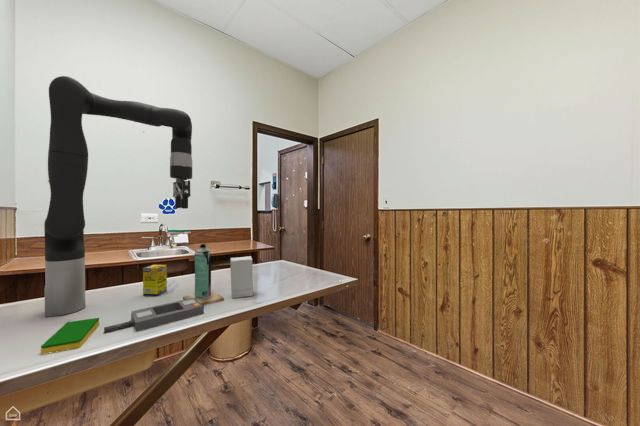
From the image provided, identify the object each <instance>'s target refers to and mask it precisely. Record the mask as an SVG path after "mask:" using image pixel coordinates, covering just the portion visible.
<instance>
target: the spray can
mask: <svg viewBox="0 0 640 426" xmlns="http://www.w3.org/2000/svg"><path fill="white" fill-rule="evenodd" d="M211 291H212V251H211V249H210V248H208V246H207V245H206V243H200V246H199V247H198V248H197V249H196V250H195V252H194V294H195V299H197V300H204V299H208V298H210V297H211Z"/></svg>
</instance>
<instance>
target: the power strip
mask: <svg viewBox="0 0 640 426" xmlns="http://www.w3.org/2000/svg"><path fill="white" fill-rule="evenodd" d="M204 306H205V305H202V304H201V303H200V302H198V301H197V300H196V299H195V298H190V299H185V300H183V299H182V300H178V301H173V302H168V303H163V304H159V305H158V304H157V305H154V306H150V307H145V308H141V309H140V308H139V309H137V310H131V312H130V316H131V317H130V318H131V319H130V320H129V321H126V322H121V323H117V324H113V325H108V326H105V327H103V333H108V332H112V331H117V330H120V329H124V328H129V327H132V326H133V328H134V330H135V332H139V331H143V329H144V330H148V329H150V328H155V327H158V326H162V325H165V324H169V322H170V323H173V321H174V322H178V321H181V320H184V319H185V320H186V319H189V318H192V316H193V317H196V316H200V315H203V313H204V310H205V309H204ZM188 317H189V318H188ZM177 320H178V321H177ZM147 328H148V329H147Z"/></svg>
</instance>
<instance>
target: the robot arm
mask: <svg viewBox="0 0 640 426" xmlns="http://www.w3.org/2000/svg"><path fill="white" fill-rule="evenodd" d="M48 98H49V99H48V100H49V111H50V126H49V127H50V128H49V140H48V141H49V142H48V143H49V144H48V153H47V154H48V155H47V172H48V173H47V175H48V182H49V189H50V199H49V204H48V211H47V215H46V218H45V220H44V222H43V223H44V226H43V227H44V265H45V266H44V267H45V269H44V270H45V271H44V275H45V276H44V277H45V282H44V283H45V284H44V318H45V317H50V316H51V317H53V316H54V317H56V316H57V317H58V316H64V315H69V314H72V313H75V312H79V311H81V310H83V309H85V307H86V254H85V253H86V250H85V242H84V241H85V238H84V237H85V236H84V235H85V231H84V229H85V227H86V219H85V212H84V211H85V210H84V191H85V187H86V183H87V175H88V167H89V149H88V144H87V141H86V136H85V134H84V130H83V115H90V116H100V117H109V118H116V119H119V120H120V119H121V120H125V121H130V122H134V123H140V124H142V125H143V124H144V125H148V126H151V127H158V128H159V127H168V128H171V131H172V132H171V134H172V135H171V139H170V140H171V141H170V156H169V177H170V178H171V179H175V181H173V182H172V184H173V185H172V187H173V188H172V189H173V190H172V194H173V195H172V197H174V198H173V199H174V207H175V209H185V210H186V209H188V208H189V198H190V197H191V180H192V179H193V156H192V155H193V152H192V150H193V149H192V136H193V135H192V134H193V124H192V118H191V116H189V114H188V113H187V112H185V111H184V110H179V109H176V108H168V107H158V106H156V105H151V104H148V103H143V102H140V101H139V102H138V101H131V100H119V99H118V100H116V99H111V98H106V97H103V96H100V95H98V94H95V93H92V92H90V91H89V90H88V88H87V87H85V86H84V85H83V84H82V83H81V82H80V81H78V80H77V79H75V78H73V77H70V76H67V75H65V76H64V75H62V76H57V77H55V78H54V79H53V80H51V82H50V83H49V86H48Z"/></svg>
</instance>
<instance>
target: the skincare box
mask: <svg viewBox="0 0 640 426" xmlns="http://www.w3.org/2000/svg"><path fill="white" fill-rule="evenodd" d="M253 274H254V272H253V258H252V256H251V255H249V256H248V255H247V256H240V257H238V256H237V257H230V285H231V288H230V290H231V291H230V292H231V299H237V298H238V299H239V298H244V297H251V296H254V282H253V281H254V280H253V278H254V275H253Z"/></svg>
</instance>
